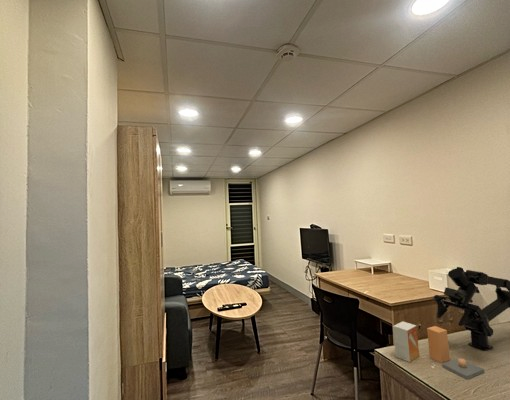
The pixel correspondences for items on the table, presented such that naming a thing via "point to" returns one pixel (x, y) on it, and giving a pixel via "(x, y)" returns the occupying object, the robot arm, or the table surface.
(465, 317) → the robot arm
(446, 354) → the orange block on stand
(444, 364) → the plate
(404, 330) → the small box
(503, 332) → the table surface
